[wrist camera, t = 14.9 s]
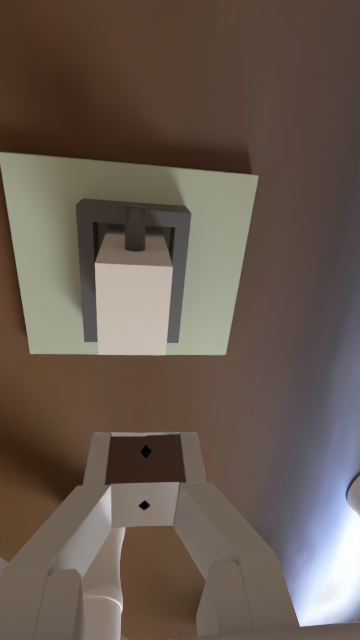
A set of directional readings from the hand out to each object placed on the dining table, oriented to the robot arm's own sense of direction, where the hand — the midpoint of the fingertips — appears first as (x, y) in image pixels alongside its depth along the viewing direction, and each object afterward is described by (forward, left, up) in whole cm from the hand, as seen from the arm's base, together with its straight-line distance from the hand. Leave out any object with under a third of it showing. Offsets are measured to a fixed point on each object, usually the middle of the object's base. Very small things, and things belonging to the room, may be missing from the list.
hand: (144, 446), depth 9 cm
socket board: (0, +1, -20) cm, 20 cm away
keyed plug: (0, 0, -18) cm, 18 cm away
